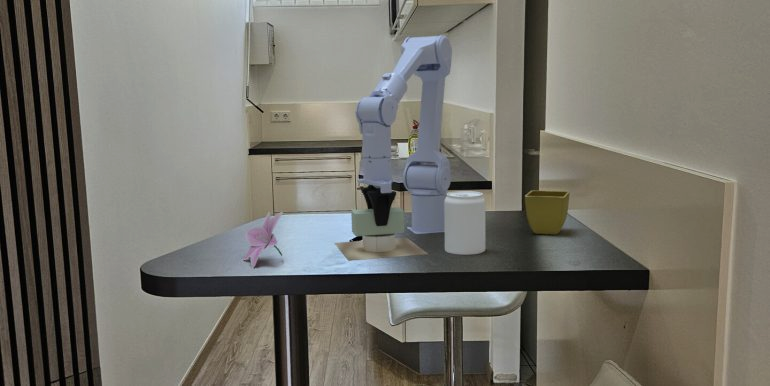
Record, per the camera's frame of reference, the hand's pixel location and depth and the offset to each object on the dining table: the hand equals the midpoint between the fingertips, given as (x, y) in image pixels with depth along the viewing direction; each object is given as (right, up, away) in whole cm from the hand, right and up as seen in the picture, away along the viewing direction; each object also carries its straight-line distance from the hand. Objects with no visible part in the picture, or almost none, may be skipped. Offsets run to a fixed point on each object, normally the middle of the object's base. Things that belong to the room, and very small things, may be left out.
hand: (378, 223), depth 143 cm
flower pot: (+38, -3, +15) cm, 41 cm away
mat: (0, -6, +1) cm, 6 cm away
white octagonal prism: (0, -5, +1) cm, 5 cm away
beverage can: (+17, -6, -2) cm, 18 cm away
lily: (-22, -8, -5) cm, 24 cm away
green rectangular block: (0, -2, 0) cm, 2 cm away
